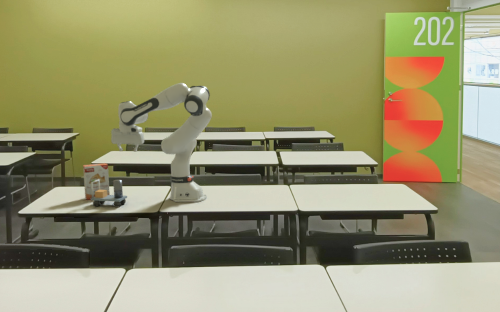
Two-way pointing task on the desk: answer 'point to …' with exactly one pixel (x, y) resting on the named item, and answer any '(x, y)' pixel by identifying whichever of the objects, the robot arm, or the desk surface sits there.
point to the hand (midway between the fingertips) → (128, 151)
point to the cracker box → (95, 178)
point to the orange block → (100, 193)
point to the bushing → (118, 189)
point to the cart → (108, 198)
